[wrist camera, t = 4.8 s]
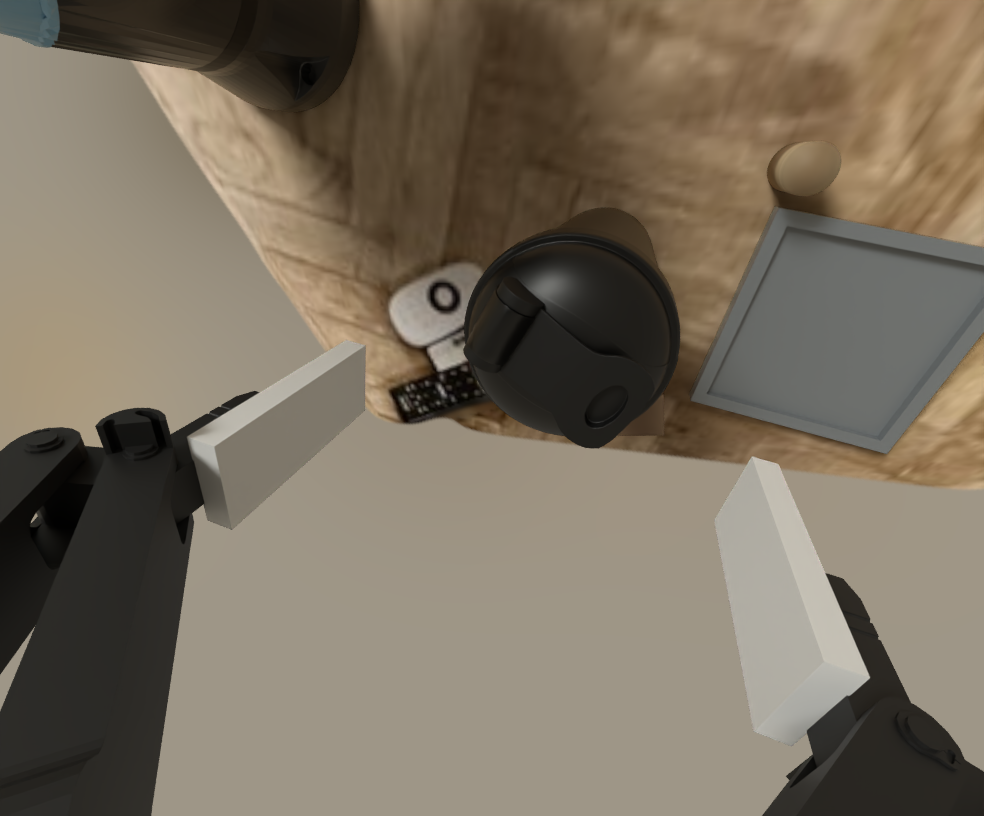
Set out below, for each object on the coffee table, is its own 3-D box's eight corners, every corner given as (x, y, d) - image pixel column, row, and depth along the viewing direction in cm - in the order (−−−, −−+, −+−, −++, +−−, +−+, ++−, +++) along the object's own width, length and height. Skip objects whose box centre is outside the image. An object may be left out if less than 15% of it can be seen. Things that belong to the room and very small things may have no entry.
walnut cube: (619, 414, 44) (617, 435, 41) (616, 377, 42) (614, 396, 39) (662, 413, 43) (664, 435, 39) (662, 375, 41) (663, 394, 38)
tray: (689, 394, 41) (690, 400, 40) (774, 206, 32) (779, 207, 31) (880, 445, 38) (886, 453, 37) (1027, 255, 30) (1041, 259, 29)
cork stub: (759, 186, 32) (774, 191, 28) (779, 138, 31) (798, 136, 27) (803, 195, 32) (824, 200, 28) (826, 146, 30) (852, 145, 26)
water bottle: (612, 342, 41) (583, 510, 21) (518, 279, 40) (404, 392, 21) (692, 242, 35) (750, 349, 16) (585, 168, 35) (510, 186, 16)
